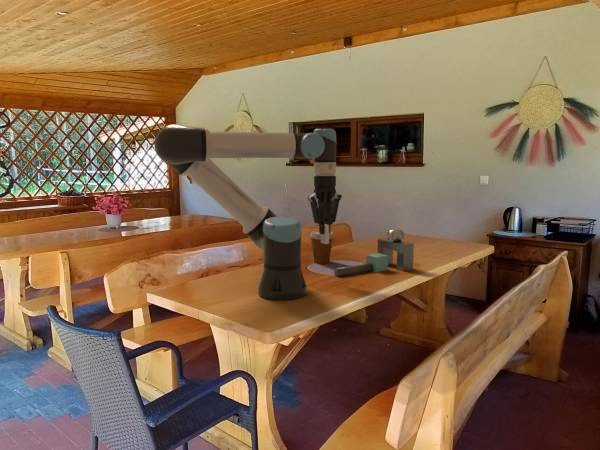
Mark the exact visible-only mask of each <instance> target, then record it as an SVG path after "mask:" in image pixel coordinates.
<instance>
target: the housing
mask: <svg viewBox="0 0 600 450" xmlns="http://www.w3.org/2000/svg"><path fill="white" fill-rule="evenodd" d="M404 238H405V231H404V230H403V229H400V228H399V229H391V230H388V231H387V232H386V237H382V238H378V239H377V251H376V252H377V253H379V254H383V255H387V256H388V266H389V265H393V264H394V263H393V259H394V252H396V270H398V271H401V272H407V271H413V270H414V253H415V252H414V248H415V246H414V245H415V243H413V242H409V241H404ZM377 253H376V254H377Z"/></svg>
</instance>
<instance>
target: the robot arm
mask: <svg viewBox="0 0 600 450" xmlns="http://www.w3.org/2000/svg"><path fill="white" fill-rule="evenodd" d="M153 145H154V150H155V153H156V155H157V156H158V157H159V159H160V160H162V161H163V162H164V163H166V164H167V165H168V166H169V167H170V168H171V169H173V171H174V172H176V174H178V175H179V176H181V177H185V176H186V177H189V179H191V180H192V181H193V182H194V183H195V184H196V185H197V186H199V187H200V188H201V189H202V190H203V192H205V193H206V194H207V195H209V197H210V198H212V199H213V201H215V202H216V203H217V204H218V205H220V207H221V208H223V210H225V211H226V212H227V213H228V214H229V215H230V216H231V217H233V218H234V220H235V221H237V222H238V223H239V224H240V225H241V226H242V233H243V234H245V236H246V237H248V239H250V240H251V241H252V242H253V243H254V244H255V246H257V247H258V248H260V249H261V250H262V251H263V271H262V275H261V277H260V280H259V283H258V296H259V297H262V298H264V299H269V300H277V301H288V300H296V299H300V298H302V297H305V296H306V295H307V293H308V292H307V284H306V280H305V278H304V274H303V271H302V234H303V232H302V226H301V223H300V221H299V220H297V219H296V218H292V217H290V216H289V217H288V216H287V217H286V216H277V215H276V213H275V212H273V210H271V209H270V208H269V206H260V205H259V204H258V203H257V202H256V201H255V200H254V199H253V198H252V197H251V196H250V195H248V194H247V193H246V191H244V190H243V189H242V188H241V187H240V186H239V185H238V184H237V183H236V182H235V181H234V180H233V179H231V177H230V176H229V175H228V174H226V173H225V172H224V171H223V170H222V169H221V167H219V166H218V165H217V164H216V163H215V162H214V161H213V160H211V159H309V160H310V159H311V160H313V174H314V176H313V186H314V190H313V194H311V195H308V196H307V200H308V201H309V203H310V207H311V212H312V217H313V222H314V223H315V224H317V225H318V227H319V228H318V229H319V230H318V231H319V233H320V234H321V243H324V244H329V233H330V232H332V231H331V228H332V227H331V226H332V225H333V223H335V222H336V220H337V216H338V209H339V205H340V201H341V199H342V197H343V196H342V194H340V193H338V192H337V190H336V186H337V176H336V174H337V133H336V130H335V129H334V128H315V129H314V130H313V132H307V133H303V132H302V133H301V132H300V133H299V132H295V133H293V132H254V131H253V132H252V131H214V130H213V131H211V130H209V129H208V128H206V127H198V126H197V127H196V126H195V127H194V126H188V125H182V124H176V123H174V124H169V125H166V126H164V127H163V128H162V129H161V130H159V131H158V133H157V134H156V136H155V139H154V144H153Z"/></svg>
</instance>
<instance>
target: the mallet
mask: <svg viewBox="0 0 600 450" xmlns="http://www.w3.org/2000/svg"><path fill="white" fill-rule="evenodd" d="M365 257H366V258H365V263H363V264H356V265H352V266H351V265H350V266H345V267H344V266H343V267H337V268H335V269H334V270H333V272H334V273H333V274H334V276H335V277H342V276H347V275H348V274H349V275H354V273H355V274H360V273H367V272H374V273H379V272H386V271H389V265H388V256H387V255H383V254H379V253H371V254H366V256H365ZM349 275H348V276H349Z"/></svg>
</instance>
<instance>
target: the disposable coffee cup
mask: <svg viewBox="0 0 600 450" xmlns="http://www.w3.org/2000/svg"><path fill="white" fill-rule="evenodd" d="M309 237H310V238H311V247H312V254H313V256H312V257H313V262H314V263H316V264H328V263H330V261H331V260H330V259H331V253H332V245H333V238H334V237H335V236H334V232H333V231H331V232H330V233H329V244H324V243H321V234H320V233H319V230H312V231H311V233H310V235H309ZM327 262H328V263H327Z"/></svg>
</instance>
